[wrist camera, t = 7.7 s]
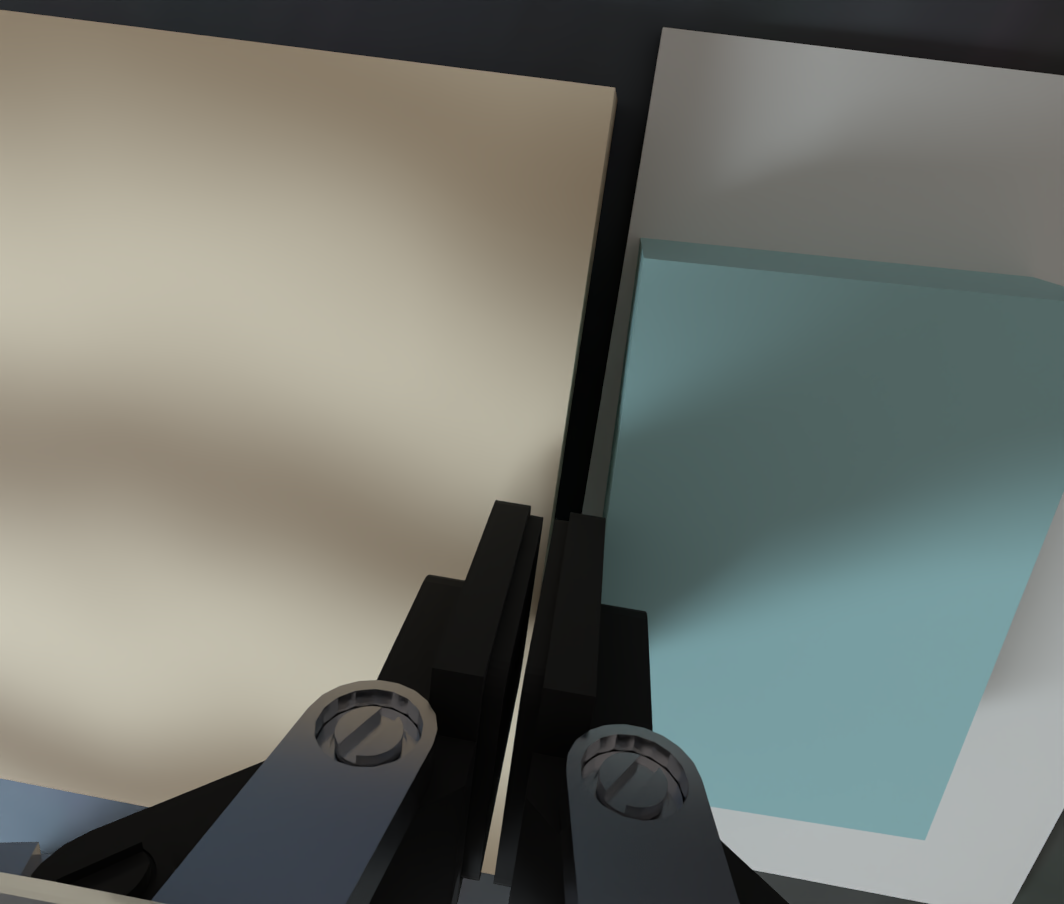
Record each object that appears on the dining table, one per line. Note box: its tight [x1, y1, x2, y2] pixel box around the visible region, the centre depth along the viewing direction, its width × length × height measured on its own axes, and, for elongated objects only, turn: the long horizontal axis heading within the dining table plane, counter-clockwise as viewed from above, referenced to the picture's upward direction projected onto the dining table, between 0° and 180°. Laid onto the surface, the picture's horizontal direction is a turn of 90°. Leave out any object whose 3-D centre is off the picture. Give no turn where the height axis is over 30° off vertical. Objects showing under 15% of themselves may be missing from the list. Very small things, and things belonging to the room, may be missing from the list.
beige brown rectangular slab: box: [0, 10, 617, 875], centre depth 14 cm, size 14×18×2 cm
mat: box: [582, 27, 1064, 904], centre depth 14 cm, size 16×10×1 cm, turn 173°
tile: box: [601, 238, 1064, 840], centre depth 12 cm, size 9×6×2 cm, turn 175°
